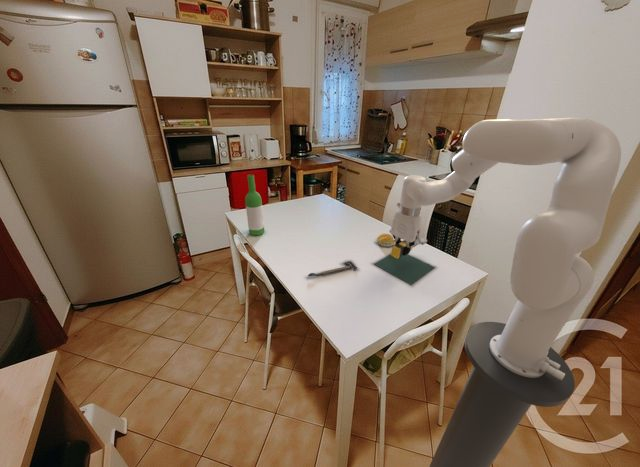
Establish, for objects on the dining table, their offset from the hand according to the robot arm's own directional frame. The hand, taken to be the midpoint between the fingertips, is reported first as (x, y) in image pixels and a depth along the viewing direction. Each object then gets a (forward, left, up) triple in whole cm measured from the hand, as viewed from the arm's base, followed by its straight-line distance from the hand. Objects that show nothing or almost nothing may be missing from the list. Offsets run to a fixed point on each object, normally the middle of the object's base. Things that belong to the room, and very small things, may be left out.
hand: (401, 251), depth 104 cm
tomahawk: (+17, +22, -9) cm, 29 cm away
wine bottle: (+66, +29, -9) cm, 73 cm away
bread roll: (+17, -14, -9) cm, 24 cm away
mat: (0, -4, -8) cm, 9 cm away
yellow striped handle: (0, -5, 0) cm, 5 cm away
